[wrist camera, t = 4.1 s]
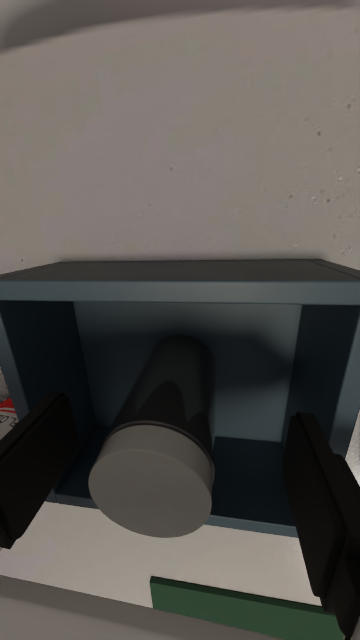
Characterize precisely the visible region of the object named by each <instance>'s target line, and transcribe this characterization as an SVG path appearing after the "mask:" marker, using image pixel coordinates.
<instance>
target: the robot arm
mask: <svg viewBox="0 0 360 640" xmlns="http://www.w3.org/2000/svg"><path fill="white" fill-rule="evenodd" d="M78 447H79V439H78V434H77V430H76V426H75V421H74V417H73V413H72V408H71V404H70V400H69V397H67V396H66V394H65V393H61V392H50V393H48V394H47V395H46V396H45V397H44V398H43V399H42V400H41V401H40V402H39V403H38V404H37V405H36V406H35V407H34V408H33V409H32V410H31V411H30V412H29V413H28V414H27V415H26V416H24V417H23V418H22V419H21V420H20V421H19V422H18V423H17V424H16V425H15V426H14V427H13V428H12V429H11V430H10V431H9V432H8V433H7V434H6V435H5V436H4V437H3V438H2V439H1V440H0V547H1V548H6V549H11V547H12V545H13V544H14V542H15V541H16V539H18V538H20V537H21V536H22V535H23V534H24V532H25V531H26V529H27V528H28V526H29V525H30V523H31V522H32V520H33V518H34V517H35V515H36V514H37V512H38V511H39V509H40V508H41V506H42V504H43V503H44V501H45V500H46V498H47V497H48V495H49V494H50V492H51V490H52V489H53V487H54V486H55V484H56V483H57V481H58V480H59V478H60V476H61V475H62V473H63V472H64V470H65V469H66V467H67V466H68V464H69V462H70V461H71V459H72V458H73V456H74V455H75V453H76V452H77V450H78ZM282 473H283V478H284V482H285V486H286V490H287V494H288V498H289V502H290V506H291V510H292V514H293V518H294V522H295V526H296V530H297V534H298V538H299V542H300V546H301V550H302V554H303V558H304V561H305V565H306V569H307V573H308V577H309V581H310V585H311V589H312V592H313V594H314V596H317V597H320V600H321V604H322V608H323V612H326V613H331V614H335V616H336V619H337V623H338V626H339V629H340V631H341V632H342V633H343V634H344V635H345V636H344V639H343V640H360V486H359V485H358V483H357V481H356V479H355V477H354V475H353V473H352V472H351V470H350V468H349V466H348V464H347V462H346V461H345V459H344V457H343V456H342V455H340V454H335V453H333V451H332V449H331V447H330V445H329V443H328V441H327V439H326V437H325V435H324V433H323V431H322V429H321V427H320V425H319V423H318V421H317V419H316V417H315V415H314V414H313V413H302V412H296V414H295V416H291V417H290V422H289V428H288V434H287V439H286V445H285V451H284V457H283V463H282ZM0 640H285V639H281V638H277V637H273V636H269V635H265V634H261V633H257V632H253V631H249V630H245V629H241V628H237V627H232V626H228V625H223V624H219V623H215V622H210V621H206V620H201V619H197V618H193V617H188V616H184V615H179V614H175V613H171V612H166V611H162V610H157V609H153V608H149V607H144V606H140V605H135V604H131V603H126V602H122V601H117V600H112V599H108V598H103V597H99V596H94V595H90V594H85V593H81V592H76V591H72V590H67V589H63V588H58V587H53V586H49V585H44V584H39V583H35V582H30V581H25V580H21V579H16V578H11V577H7V576H2V575H0Z"/></svg>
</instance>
